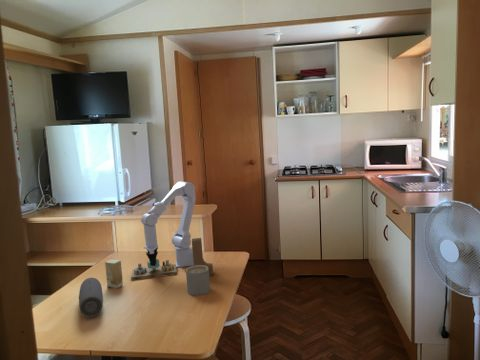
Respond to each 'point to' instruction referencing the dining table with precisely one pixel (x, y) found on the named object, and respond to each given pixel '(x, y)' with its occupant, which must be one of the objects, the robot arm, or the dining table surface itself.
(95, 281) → the bluetooth speaker
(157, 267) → the teal gear
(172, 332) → the dining table surface
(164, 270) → the gear board
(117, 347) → the dining table surface
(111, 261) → the skincare box
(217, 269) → the dining table surface
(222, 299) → the dining table surface
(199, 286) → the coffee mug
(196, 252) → the wooden block
